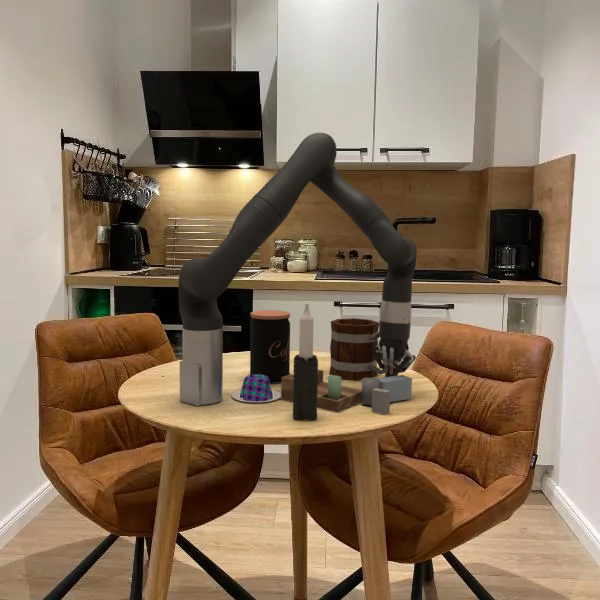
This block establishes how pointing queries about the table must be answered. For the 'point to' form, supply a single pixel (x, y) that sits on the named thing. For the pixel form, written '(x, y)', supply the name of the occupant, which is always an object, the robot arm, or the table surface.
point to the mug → (354, 349)
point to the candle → (305, 372)
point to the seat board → (324, 394)
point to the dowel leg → (334, 387)
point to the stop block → (381, 400)
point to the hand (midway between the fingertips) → (390, 387)
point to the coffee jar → (270, 344)
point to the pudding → (256, 389)
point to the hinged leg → (387, 388)
